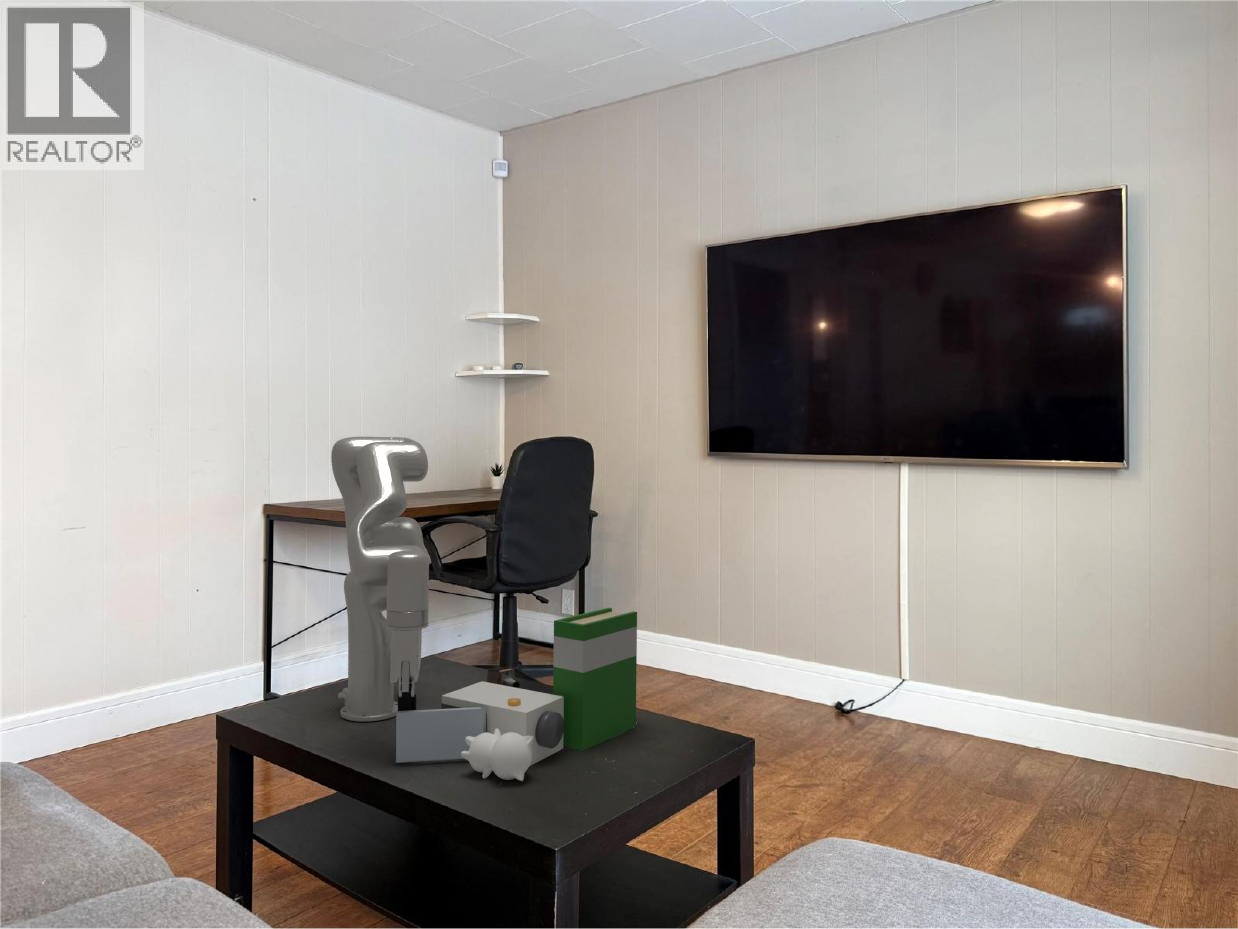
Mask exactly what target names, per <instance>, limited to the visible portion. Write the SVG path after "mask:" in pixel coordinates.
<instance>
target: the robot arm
mask: <svg viewBox="0 0 1238 929" xmlns="http://www.w3.org/2000/svg"><path fill="white" fill-rule="evenodd" d="M330 458H331V459H330V460H331V462H330V463H331V469H332V473H333V477H334V480H335V482H336V486H337V487H338V490H339V493H340V495H341V498H342V501H343V505H344V517H345V519H344V520H345V530H346V542H347V543H346V544H347V557H348V562H349V567H350V568H349V569H350V571H349V572H348V573H347V574H346V576H345V577H344V581H343V582H344V583H343V593H344V600H345V606H346V612H347V613H346V614H347V629H348V630H347V634H348V636H347V642H348V643H347V644H348V645H347V647H348V648H347V649H348V650H347V652H348V653H347V672H348V673H347V687H344V688H343V689H342V691H341V692H338V694H337V698H338V699H339V700H344V705H343V706H342V707H341V708H340V712H339V715H340V717H341V718H343V719H344V720H348V721H351V722H360V723H361V722H362V723H363V722H367V723H368V722H376V721H378V722H379V721H382V720H388V719H391V718H394V717H396V712H397V711H413V710H417V694H416V683H417V682H418V681H419V680H418V679H419V675H420V670H421V662H422V661H421V660H422V642H423V639H422V637H423V636H422V635H423V634H422V630H423V629H426V628H427V627H429V596H430V595H429V591H430V590H429V588H430V586H429V584H430V583H429V582H430V581H429V580H430V578H429V577H430V575H429V574H430V572H429V571H430V568H429V567H430V563H429V557H428V555H427V553H426V552H425V545H424V537H423V532H422V529H421V528H422V527H420V524H419V522H417V521H416V519H415V518H412V517H406V516H401V515H402V514H403V513H405V511H406V509H407V507H408V498H407V497H408V496H407V492H406V489H405V484H404V482H405V483H407V482H408V483H409V482H413V483H414V482H418V483H419V482H422V481H423V480H425V478H426V476H427V474H428V469H429V459H428V456H427V452H426V451H425V448H424V447H423V446H422V444H421V443H419V442H418V441H416V440H414V439H411V438H409V437H400V436H350V437H344V438H341V439H338V440H337V441H336V442H334V444H333V445H332V449H331V457H330ZM385 611H386V617H385V616H384V614H383V612H385ZM397 682H398V695H397V701H395V684H397Z"/></svg>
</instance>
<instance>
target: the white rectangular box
mask: <svg viewBox="0 0 1238 929" xmlns="http://www.w3.org/2000/svg"><path fill="white" fill-rule="evenodd" d="M440 707H441V708H440V709H453V708H473V707H486V733H491V734H494V731H495V729H498V730H499V731H500V734H501V735H503V734H505V733H509V732H514V733H517V734H520V735H521V736H523V737H524V736H533V737H534V739H533V742H532V745H531V751H532V760H531V763H530V766H529V767H532V766H533V765H534V764H536V763H538V762H541V761H542V760H545V759H546V758H548V757H550V756H552V755H554V754H555V753H558V752H559V751H561V749H562V750H563V749H564V746H563V731H564V697H563V696H557V695H553V693H552V694H550V693H547V692H546V693H545V692H542V691H541V692H540V691H535V690H530V689H524V688H520V687H519V688H515V687H509V686H504V685H499V684H493V683H488V682H487V681H478V682H476V683H473V684H470V685H468V686H464V687H462V688H460V689H457V690H454V691H451V692H447V693H445V694H442V695H441V706H440Z"/></svg>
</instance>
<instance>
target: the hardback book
mask: <svg viewBox="0 0 1238 929" xmlns="http://www.w3.org/2000/svg"><path fill="white" fill-rule="evenodd" d="M637 637H638V611H630V612H626V613H619V612H613V608H612V607H605V608H601V609H596V610H592V611H589V612H584V613H581V614H577V615H573V616H572V615H571V616H568V617H563V618H560V619H559V618H558V619H554V620H553V662H552V663H553V667H552V668H553V671H552V673H553V674H552V675H553V676H552V678H553V679H552V681H553V682H552V683H553V684H552V685H553V686H552V695H557V696H563V697H564V731H563V747H565V746H566V747H565V748H569V749H572V750H573V749H574V750H576V749H577V750H576V751H581V752H584V751H586V750H588V748H589V749H591V748H593V747H596V746H598V745H599V743H600V744H602V743H604V742H606V741H605V740H607V739H609V740H611V739H613V738H612V737H614V736H616V737H617V736H620V735H622V734H621V733H623V732H625V733H627V732H629V731H628V730H629V729H632V728H633V727H635V726H636V727H637V724H636V723H637V667H638V666H637V662H638V661H637V658H638V656H637V655H638V654H637V653H638V651H637V650H638V648H637V646H638V638H637ZM632 730H633V729H632ZM626 731H627V732H626ZM619 734H620V735H619ZM623 734H624V733H623ZM610 738H611V739H610ZM614 738H615V737H614ZM607 741H608V740H607ZM597 744H598V745H597ZM592 746H593V747H592ZM590 747H591V748H590ZM585 749H586V750H585Z"/></svg>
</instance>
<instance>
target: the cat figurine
mask: <svg viewBox="0 0 1238 929" xmlns="http://www.w3.org/2000/svg"><path fill="white" fill-rule="evenodd" d="M533 739H534V737H533V736H524V737H523V736H521V735H520V734H517V733H514V732H509V733H505V734H503V735H501V734H500V731H499V730H498V729H495V731H494V734H491V733H482V734H479V735H478V736H476V737H471V736H467V737H466V738H465V742H466V743H467V745H469V746H470V748H469V751H462V752H461V756H462V757H463V758H464V760H466V761H468V762H469V764H470V766H471V768H472V769H473V770H475V771H476V772H478V773H482V776H481V778H483V779H487V778H488V777H489V776H490V775H491V773H492V772H494V775H496V776H497V777H498V778H499V779H502V780H504V781H505V780H506V781H512V780H514V779H516V780H518V781H521V782H523V781H524V779H525V773H526V771H527V770H528V769H529V767H531V766H530V763H531V760H532V751H531V745H532V742H533Z"/></svg>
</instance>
